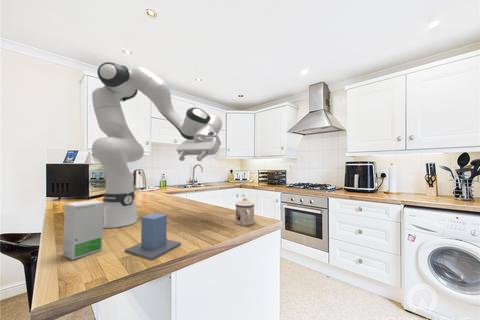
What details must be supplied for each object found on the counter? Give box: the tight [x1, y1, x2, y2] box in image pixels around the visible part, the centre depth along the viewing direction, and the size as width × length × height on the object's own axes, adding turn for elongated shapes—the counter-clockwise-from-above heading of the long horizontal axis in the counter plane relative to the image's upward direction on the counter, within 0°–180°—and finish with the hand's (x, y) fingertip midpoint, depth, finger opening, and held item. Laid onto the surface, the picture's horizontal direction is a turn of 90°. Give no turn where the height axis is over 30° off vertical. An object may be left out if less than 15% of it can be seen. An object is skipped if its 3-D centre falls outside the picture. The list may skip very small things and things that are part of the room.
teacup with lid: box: [235, 197, 255, 226], centre depth 93 cm, size 12×9×12 cm
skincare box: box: [62, 200, 104, 261], centre depth 62 cm, size 8×7×16 cm
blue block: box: [140, 212, 168, 251], centre depth 65 cm, size 5×5×10 cm
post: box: [124, 238, 182, 261], centre depth 65 cm, size 12×12×8 cm
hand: (189, 159), depth 84 cm, fingers open, 8 cm apart
